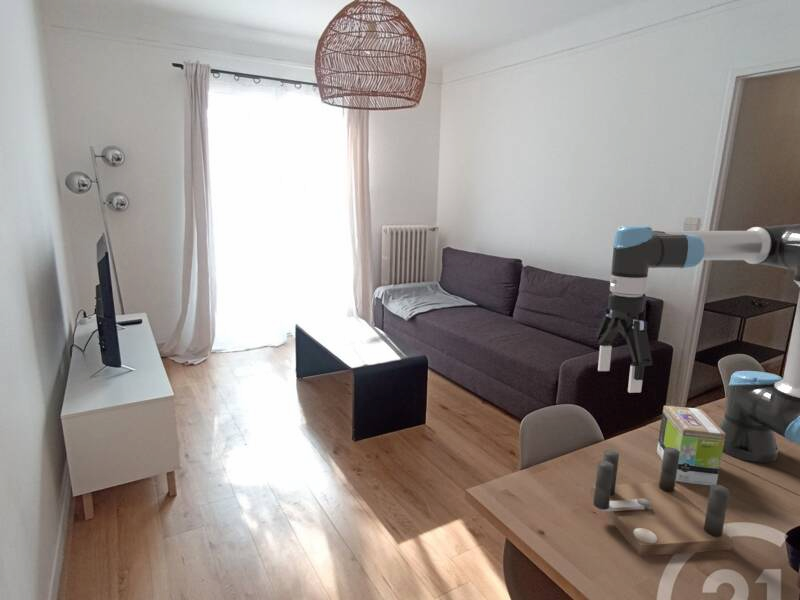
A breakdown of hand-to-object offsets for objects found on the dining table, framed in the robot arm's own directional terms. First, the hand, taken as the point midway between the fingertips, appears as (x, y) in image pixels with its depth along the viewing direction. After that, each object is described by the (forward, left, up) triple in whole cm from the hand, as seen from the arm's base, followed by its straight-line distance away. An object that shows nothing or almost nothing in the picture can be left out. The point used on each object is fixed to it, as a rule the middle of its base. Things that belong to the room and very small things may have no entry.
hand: (618, 380), depth 113 cm
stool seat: (-4, +14, -28) cm, 31 cm away
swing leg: (+4, +12, -25) cm, 28 cm away
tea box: (-25, -5, -28) cm, 38 cm away
